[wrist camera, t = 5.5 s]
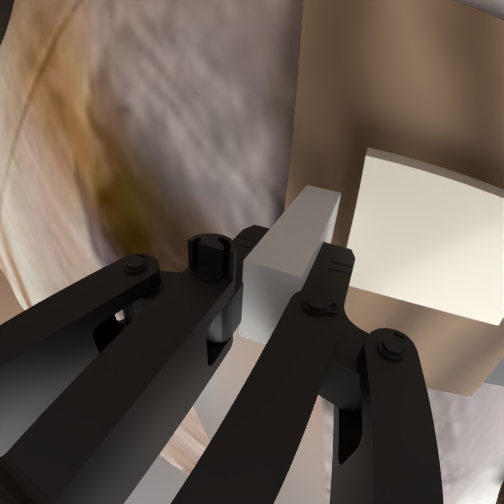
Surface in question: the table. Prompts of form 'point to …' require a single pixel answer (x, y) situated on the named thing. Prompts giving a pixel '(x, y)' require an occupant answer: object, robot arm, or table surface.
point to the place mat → (497, 375)
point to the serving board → (402, 139)
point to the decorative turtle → (501, 495)
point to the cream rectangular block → (429, 237)
